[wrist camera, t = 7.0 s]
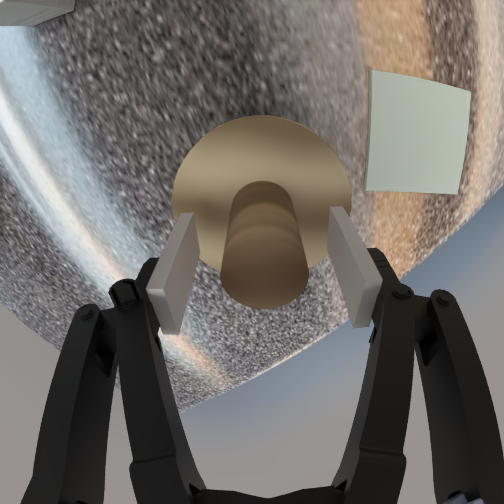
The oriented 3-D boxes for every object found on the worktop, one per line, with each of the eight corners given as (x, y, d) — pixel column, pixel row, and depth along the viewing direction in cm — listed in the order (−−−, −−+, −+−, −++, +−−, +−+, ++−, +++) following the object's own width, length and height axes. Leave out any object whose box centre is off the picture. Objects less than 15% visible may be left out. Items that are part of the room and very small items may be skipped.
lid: (165, 124, 17) (105, 161, 10) (349, 115, 17) (411, 147, 10) (191, 271, 24) (170, 354, 17) (337, 265, 23) (364, 347, 16)
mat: (368, 69, 24) (371, 69, 23) (466, 91, 23) (470, 91, 23) (363, 188, 32) (365, 190, 31) (454, 192, 31) (457, 194, 31)
